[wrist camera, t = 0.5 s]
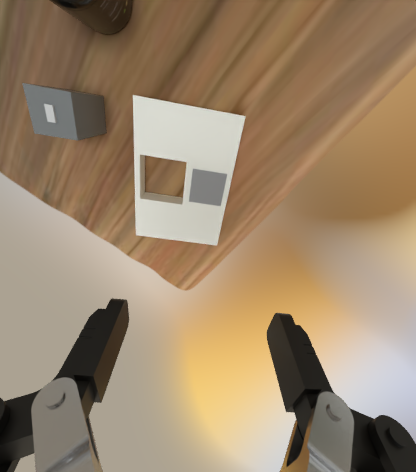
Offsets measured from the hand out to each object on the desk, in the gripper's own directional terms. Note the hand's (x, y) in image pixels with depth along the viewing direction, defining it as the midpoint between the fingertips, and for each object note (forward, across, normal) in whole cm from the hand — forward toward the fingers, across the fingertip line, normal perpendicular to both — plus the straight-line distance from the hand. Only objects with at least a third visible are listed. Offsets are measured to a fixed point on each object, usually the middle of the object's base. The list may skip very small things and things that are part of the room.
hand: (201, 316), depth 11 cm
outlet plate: (+26, +3, 0) cm, 26 cm away
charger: (+26, +17, -7) cm, 32 cm away
